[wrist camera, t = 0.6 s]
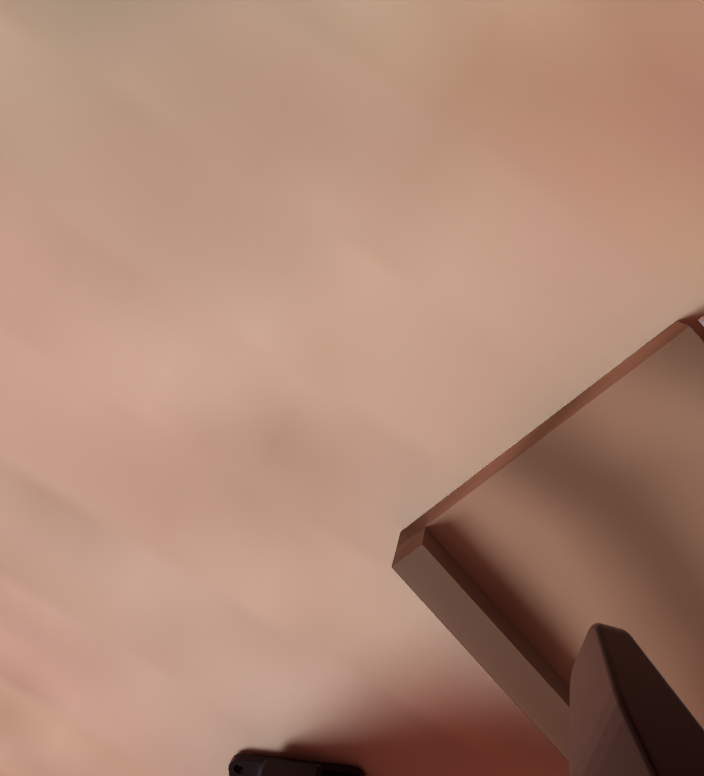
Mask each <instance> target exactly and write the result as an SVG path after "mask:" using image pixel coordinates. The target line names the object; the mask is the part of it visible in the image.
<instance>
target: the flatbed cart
mask: <svg viewBox="0 0 704 776" xmlns="http://www.w3.org/2000/svg"><path fill="white" fill-rule="evenodd" d="M392 568H393V569H394V570H395V571H396V573H397V574H398V575H399V576H400V577H401V578H402V579H403V580H404V581H405V582H406V584H407V585H408V586H409V587H410V588H411V589H412V590H413V591H414V592H415V593H416V595H417V596H418V597H419V598H420V599H421V600H422V601H423V602H424V603H425V604H426V606H427V607H428V608H429V609H430V610H431V611H432V612H433V613H434V614H435V615H436V617H437V618H438V619H439V620H440V621H441V622H442V623H443V624H444V625H445V627H446V628H447V629H448V630H449V631H450V632H451V633H452V634H453V635H454V636H455V638H456V639H457V640H458V641H459V642H460V643H461V644H462V645H463V646H464V647H465V649H466V650H467V651H468V652H469V653H470V654H471V655H472V656H473V657H474V658H475V660H476V661H477V662H478V663H479V664H480V665H481V666H482V667H483V668H484V669H485V671H486V672H487V673H488V674H489V675H490V676H491V677H492V678H493V679H494V681H495V682H496V683H497V684H498V685H499V686H500V687H501V688H502V689H503V690H504V692H505V693H506V694H507V695H508V696H509V697H510V698H511V699H512V700H513V701H514V703H515V704H516V705H517V706H518V707H519V708H520V709H521V710H522V711H523V712H524V714H525V715H526V716H527V717H528V718H529V719H530V720H531V721H532V722H533V723H534V725H535V726H536V727H537V728H538V729H539V730H540V731H541V732H542V733H543V735H544V736H545V737H546V738H547V739H548V740H549V741H550V742H551V743H552V744H553V746H554V747H555V748H556V749H557V750H558V751H559V752H560V753H561V754H562V755H563V757H564V758H565V759H566V760H567V761H568V762H569V716H570V680H571V674H572V670H573V666H574V664H575V661H576V659H577V656H578V654H579V652H580V649H581V647H582V644H583V642H584V640H585V637H586V635H587V633H588V630H589V628H590V627H591V626H592V625H593V624H595V623H601V624H605V625H609V626H613V627H616V628H620V629H623V630H625V631H627V632H628V633H629V634H630V635H631V636H632V637H633V639H634V640H635V641H636V642H637V644H638V645H639V646H640V648H641V649H642V650H643V652H644V653H645V654H646V655H647V657H648V658H649V659H650V661H651V662H652V663H653V664H654V666H655V667H656V668H657V670H658V671H659V672H660V673H661V675H662V676H663V677H664V679H665V680H666V681H667V683H668V684H669V685H670V686H671V688H672V689H673V690H674V692H675V693H676V694H677V695H678V697H679V698H680V699H681V701H682V702H683V703H684V704H685V706H686V707H687V708H688V710H689V711H690V712H691V714H692V715H693V716H694V717H695V719H696V720H697V721H698V723H699V724H700V725H701V726H702V728H703V729H704V342H703V341H702V339H701V338H700V337H699V336H698V335H697V334H696V332H695V331H694V330H693V329H692V328H691V327H690V326H688V325H686V324H683V323H681V322H678V321H676V322H674V323H673V324H672V325H671V326H669V327H668V328H667V329H665V330H664V331H663V332H661V333H660V334H659V335H657V336H656V337H655V338H654V339H652V340H651V341H650V342H648V343H647V344H646V345H644V346H643V347H642V348H640V349H639V350H638V351H637V352H635V353H634V354H633V355H631V356H630V357H629V358H627V359H626V360H625V361H623V362H622V363H621V364H620V365H618V366H617V367H616V368H614V369H613V370H612V371H610V372H609V373H608V374H606V375H605V376H604V377H603V378H601V379H600V380H599V381H597V382H596V383H595V384H593V385H592V386H591V387H589V388H588V389H587V390H586V391H584V392H583V393H582V394H580V395H579V396H578V397H576V398H575V399H574V400H572V401H571V402H570V403H569V404H567V405H566V406H565V407H563V408H562V409H561V410H559V411H558V412H557V413H555V414H554V415H553V416H552V417H550V418H549V419H548V420H546V421H545V422H544V423H542V424H541V425H540V426H538V427H537V428H536V429H535V430H533V431H532V432H531V433H529V434H528V435H527V436H525V437H524V438H523V439H521V440H520V441H519V442H518V443H516V444H515V445H514V446H512V447H511V448H510V449H508V450H507V451H506V452H504V453H503V454H502V455H501V456H499V457H498V458H497V459H495V460H494V461H493V462H491V463H490V464H489V465H488V466H486V467H485V468H484V469H482V470H481V471H480V472H478V473H477V474H476V475H474V476H473V477H472V478H471V479H469V480H468V481H467V482H465V483H464V484H463V485H461V486H460V487H459V488H457V489H456V490H455V491H454V492H452V493H451V494H450V495H448V496H447V497H446V498H444V499H443V500H442V501H440V502H439V503H438V504H437V505H435V506H434V507H433V508H431V509H430V510H429V511H427V512H426V513H425V514H423V515H422V516H421V517H420V518H418V519H417V520H416V521H414V522H413V523H412V524H410V525H409V526H408V527H406V528H405V529H404V530H403V531H401V533H400V537H399V540H398V544H397V548H396V552H395V556H394V560H393V564H392Z"/></svg>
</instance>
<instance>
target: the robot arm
mask: <svg viewBox="0 0 704 776" xmlns="http://www.w3.org/2000/svg"><path fill="white" fill-rule="evenodd" d="M238 765H240V766H242V767H239V766H238ZM229 776H366V775H365V772H364V771H363V770H362V769H360V768H359V767H356V766H348V765H338V764H329V763H320V762H311V761H302V760H293V759H284V758H275V757H266V756H256V755H247V754H236V755H234V756H233V758H232V760H231V762H230V764H229ZM568 776H704V729H703V728H702V726H701V725H700V724H699V723H698V721H697V720H696V719H695V717H694V716H693V715H692V714H691V712H690V711H689V710H688V708H687V707H686V706H685V704H684V703H683V702H682V701H681V699H680V698H679V697H678V695H677V694H676V693H675V692H674V690H673V689H672V688H671V686H670V685H669V684H668V683H667V681H666V680H665V679H664V677H663V676H662V675H661V673H660V672H659V671H658V670H657V668H656V667H655V666H654V664H653V663H652V662H651V661H650V659H649V658H648V657H647V655H646V654H645V653H644V652H643V650H642V649H641V648H640V646H639V645H638V644H637V642H636V641H635V640H634V639H633V637H632V636H631V635H630V634H629V633H628V632H627V631H625V630H623V629H620V628H616V627H613V626H609V625H605V624H601V623H595V624H593V625H592V626H591V627H590V628H589V630H588V633H587V635H586V637H585V640H584V642H583V644H582V647H581V649H580V652H579V654H578V656H577V659H576V661H575V664H574V666H573V670H572V674H571V680H570V716H569V772H568Z"/></svg>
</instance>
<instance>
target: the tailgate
mask: <svg viewBox="0 0 704 776" xmlns="http://www.w3.org/2000/svg"><path fill="white" fill-rule="evenodd" d="M698 321H699V322H700V323H701V324H702V325H703V326H704V316H702V317H701V318H700V319H698Z"/></svg>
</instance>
